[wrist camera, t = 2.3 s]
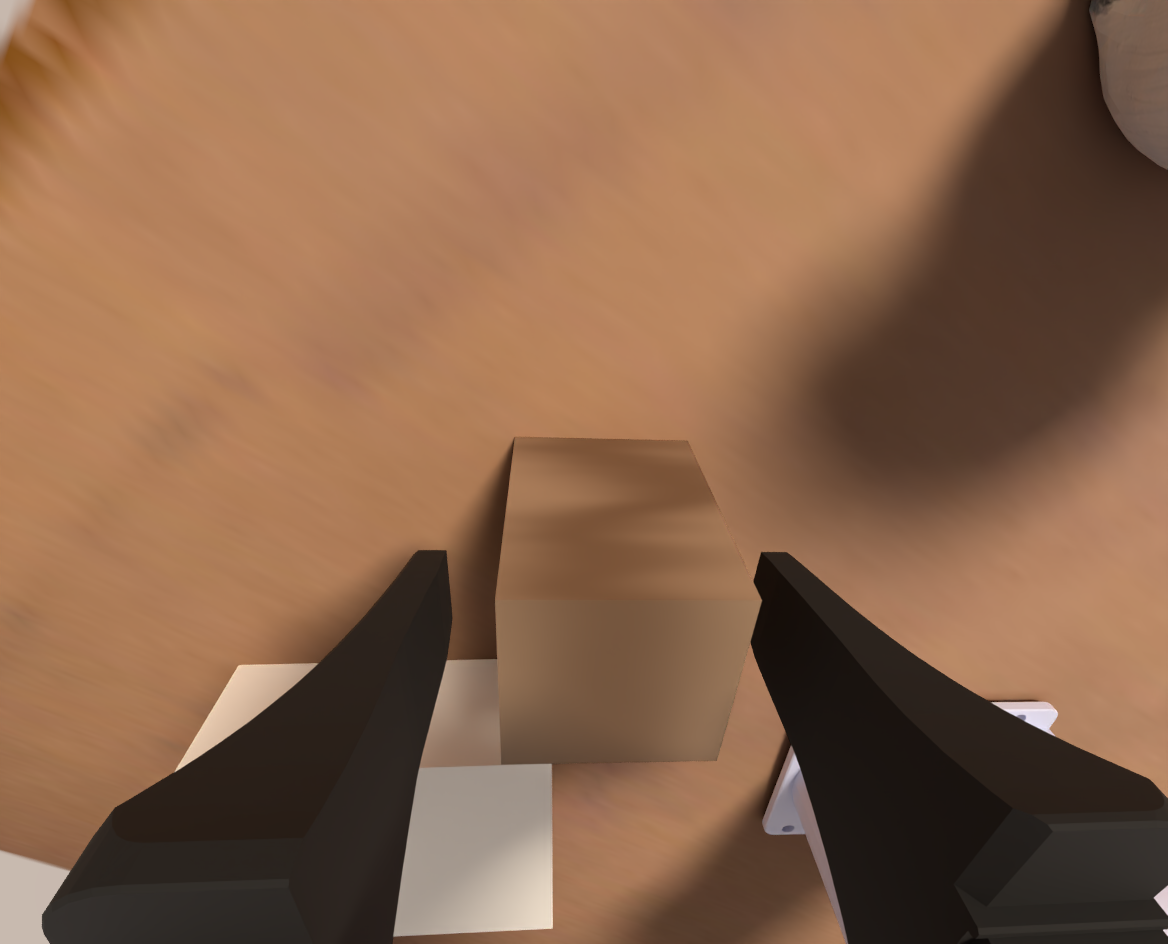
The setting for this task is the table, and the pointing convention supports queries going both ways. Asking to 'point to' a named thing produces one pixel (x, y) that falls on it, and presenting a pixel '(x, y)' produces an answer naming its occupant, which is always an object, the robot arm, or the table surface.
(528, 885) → the ceramic base
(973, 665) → the table surface
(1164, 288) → the table surface
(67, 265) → the table surface
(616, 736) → the walnut block
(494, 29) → the table surface
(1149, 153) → the decorative ornament
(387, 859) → the robot arm
